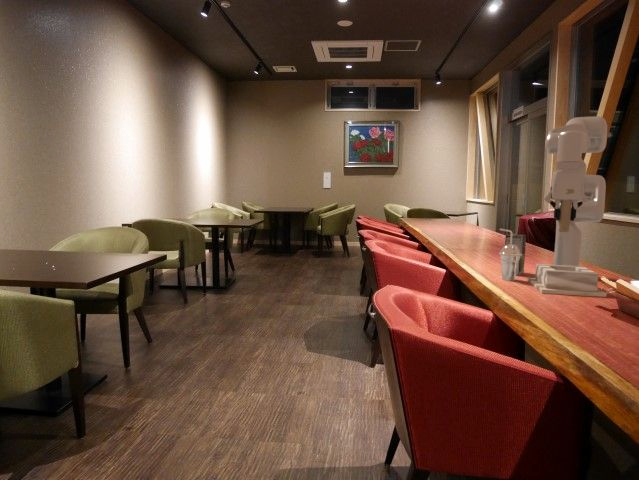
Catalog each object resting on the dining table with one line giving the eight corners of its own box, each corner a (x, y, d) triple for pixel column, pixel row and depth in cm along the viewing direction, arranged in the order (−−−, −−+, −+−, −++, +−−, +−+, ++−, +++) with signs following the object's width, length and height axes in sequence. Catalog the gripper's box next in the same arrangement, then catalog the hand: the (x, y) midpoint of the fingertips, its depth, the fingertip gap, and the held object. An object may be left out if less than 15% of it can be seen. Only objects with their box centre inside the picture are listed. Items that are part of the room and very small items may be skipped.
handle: (574, 233, 167) (577, 189, 165) (553, 232, 170) (556, 189, 168) (573, 231, 172) (576, 189, 170) (553, 230, 174) (556, 188, 172)
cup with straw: (521, 282, 183) (524, 229, 181) (495, 280, 186) (498, 228, 184) (519, 278, 191) (523, 227, 189) (495, 276, 194) (498, 226, 192)
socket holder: (527, 281, 186) (528, 262, 186) (584, 284, 182) (585, 265, 182) (541, 293, 165) (543, 272, 164) (606, 297, 161) (608, 275, 160)
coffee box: (508, 270, 209) (510, 233, 207) (524, 272, 205) (526, 234, 203) (502, 273, 202) (505, 235, 200) (518, 275, 198) (521, 236, 196)
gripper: (591, 167, 170) (587, 220, 172) (539, 167, 173) (536, 218, 176) (598, 167, 163) (594, 222, 165) (544, 167, 166) (541, 220, 168)
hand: (564, 219), depth 170 cm, fingers closed on handle, 4 cm apart
